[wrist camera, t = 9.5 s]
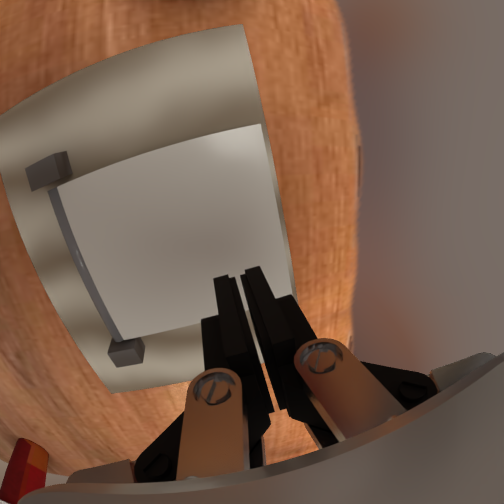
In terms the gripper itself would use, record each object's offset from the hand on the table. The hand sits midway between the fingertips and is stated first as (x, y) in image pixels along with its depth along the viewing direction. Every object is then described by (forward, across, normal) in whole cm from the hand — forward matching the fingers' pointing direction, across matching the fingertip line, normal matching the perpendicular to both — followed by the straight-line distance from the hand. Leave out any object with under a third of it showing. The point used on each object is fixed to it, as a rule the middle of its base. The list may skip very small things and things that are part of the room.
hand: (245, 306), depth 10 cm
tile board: (+11, +5, 0) cm, 12 cm away
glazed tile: (+9, +10, 0) cm, 13 cm away
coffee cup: (+11, +41, +27) cm, 50 cm away
